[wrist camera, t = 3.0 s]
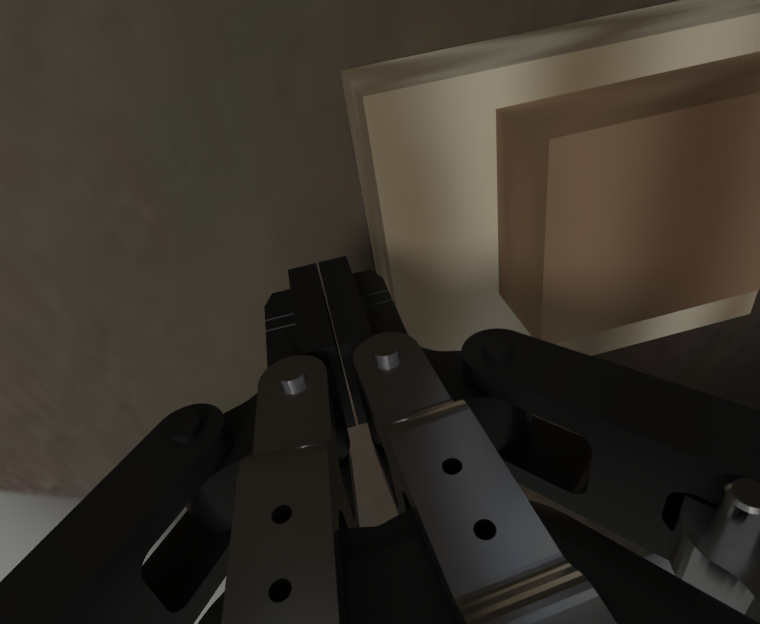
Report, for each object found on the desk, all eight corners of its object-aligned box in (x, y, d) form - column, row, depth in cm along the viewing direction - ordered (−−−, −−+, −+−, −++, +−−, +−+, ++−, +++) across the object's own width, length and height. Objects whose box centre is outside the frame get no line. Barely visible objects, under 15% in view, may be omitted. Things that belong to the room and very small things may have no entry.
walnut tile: (797, 43, 14) (908, 58, 12) (742, 232, 18) (820, 274, 15) (495, 108, 14) (548, 139, 11) (498, 293, 17) (540, 347, 15)
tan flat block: (743, -13, 17) (859, -9, 14) (681, 266, 24) (749, 313, 20) (339, 70, 16) (362, 97, 13) (388, 340, 22) (411, 403, 19)
